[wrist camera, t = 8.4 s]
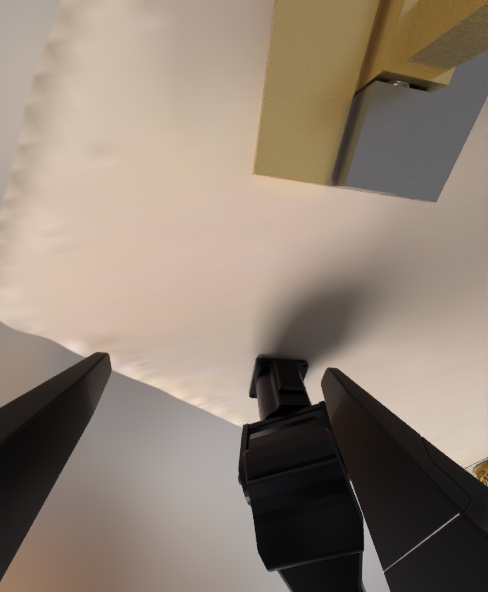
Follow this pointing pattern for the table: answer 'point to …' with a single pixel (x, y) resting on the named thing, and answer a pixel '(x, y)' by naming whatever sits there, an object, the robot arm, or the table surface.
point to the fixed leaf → (409, 134)
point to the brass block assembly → (351, 69)
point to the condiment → (480, 470)
